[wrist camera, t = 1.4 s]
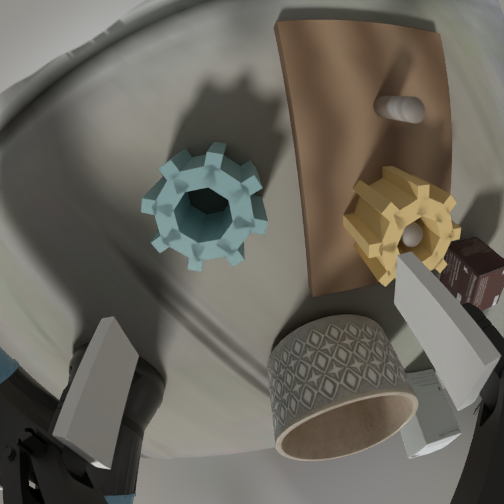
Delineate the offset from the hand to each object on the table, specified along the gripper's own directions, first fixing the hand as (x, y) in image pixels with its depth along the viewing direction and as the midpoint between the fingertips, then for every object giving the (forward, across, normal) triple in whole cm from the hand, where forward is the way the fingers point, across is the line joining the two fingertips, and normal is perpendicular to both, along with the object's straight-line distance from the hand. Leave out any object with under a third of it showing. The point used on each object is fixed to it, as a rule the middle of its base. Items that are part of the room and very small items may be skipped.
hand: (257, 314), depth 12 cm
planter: (+16, +6, -23) cm, 29 cm away
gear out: (+14, +13, -3) cm, 19 cm away
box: (+16, +25, -13) cm, 33 cm away
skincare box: (+16, +21, -38) cm, 46 cm away
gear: (+16, -3, +2) cm, 16 cm away
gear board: (+16, +13, +2) cm, 20 cm away
